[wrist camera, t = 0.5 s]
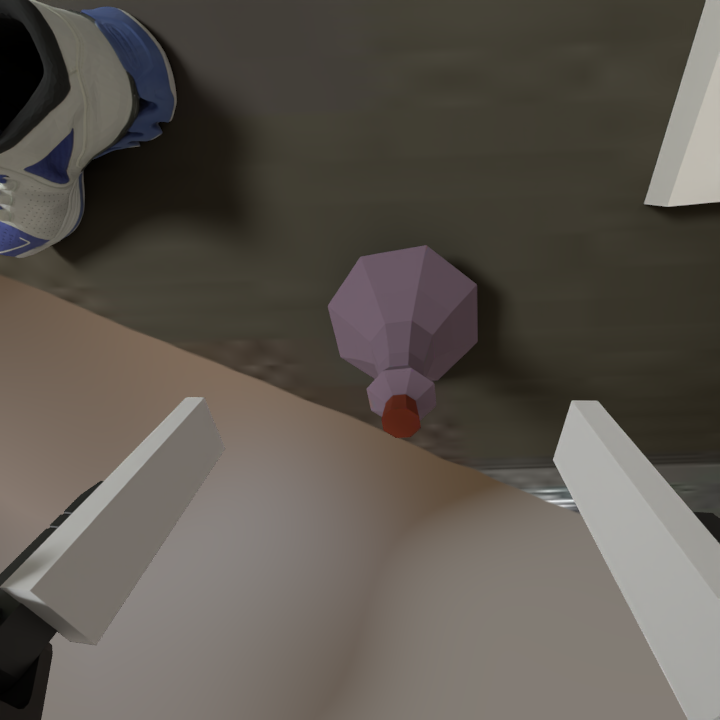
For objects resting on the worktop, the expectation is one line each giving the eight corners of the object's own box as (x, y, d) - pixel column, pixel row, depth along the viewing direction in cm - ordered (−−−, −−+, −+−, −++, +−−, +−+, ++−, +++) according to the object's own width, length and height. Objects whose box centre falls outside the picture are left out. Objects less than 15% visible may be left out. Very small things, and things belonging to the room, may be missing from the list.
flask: (500, 255, 33) (603, 342, 16) (446, 380, 41) (476, 525, 24) (347, 219, 33) (285, 266, 16) (325, 351, 41) (269, 475, 24)
